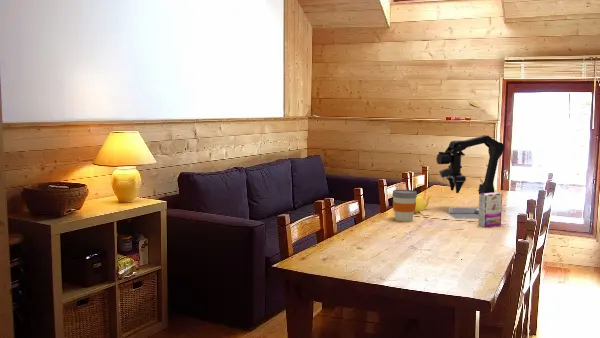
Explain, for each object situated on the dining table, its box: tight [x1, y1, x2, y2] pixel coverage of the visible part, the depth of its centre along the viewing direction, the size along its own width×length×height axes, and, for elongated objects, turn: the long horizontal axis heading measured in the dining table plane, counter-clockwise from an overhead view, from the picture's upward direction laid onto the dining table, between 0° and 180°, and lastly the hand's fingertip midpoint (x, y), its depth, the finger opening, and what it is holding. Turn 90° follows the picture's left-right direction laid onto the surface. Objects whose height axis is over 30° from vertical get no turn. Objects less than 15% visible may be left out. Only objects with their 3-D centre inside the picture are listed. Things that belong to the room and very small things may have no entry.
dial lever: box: [448, 206, 479, 214], centre depth 312 cm, size 18×5×3 cm, turn 93°
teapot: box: [414, 195, 432, 214], centre depth 323 cm, size 14×13×10 cm
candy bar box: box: [477, 191, 503, 228], centre depth 288 cm, size 11×5×16 cm, turn 117°
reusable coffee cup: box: [391, 189, 418, 223], centre depth 300 cm, size 12×13×15 cm
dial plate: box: [443, 210, 479, 220], centre depth 309 cm, size 20×20×2 cm
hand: (454, 191), depth 320 cm, fingers open, 9 cm apart
